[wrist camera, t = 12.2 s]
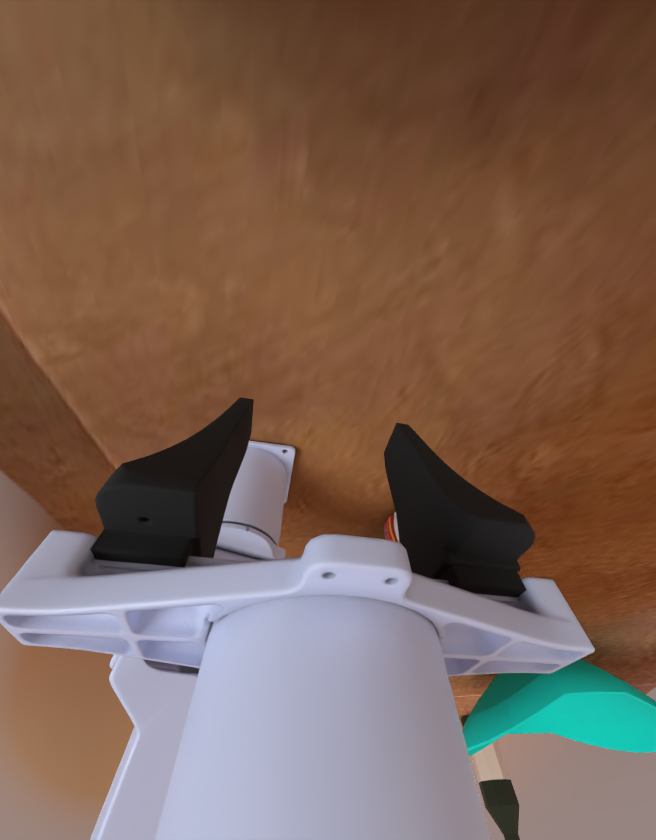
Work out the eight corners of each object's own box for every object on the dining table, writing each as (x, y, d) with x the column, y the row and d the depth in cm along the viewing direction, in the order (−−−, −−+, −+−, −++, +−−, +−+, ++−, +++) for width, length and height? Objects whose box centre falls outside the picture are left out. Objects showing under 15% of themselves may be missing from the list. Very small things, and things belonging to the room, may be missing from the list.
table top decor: (663, 628, 57) (745, 727, 46) (585, 678, 73) (633, 761, 62) (456, 630, 55) (489, 734, 44) (422, 681, 71) (441, 767, 60)
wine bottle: (470, 712, 88) (528, 907, 64) (494, 714, 90) (560, 904, 65) (455, 720, 93) (504, 904, 68) (479, 721, 94) (535, 901, 70)
